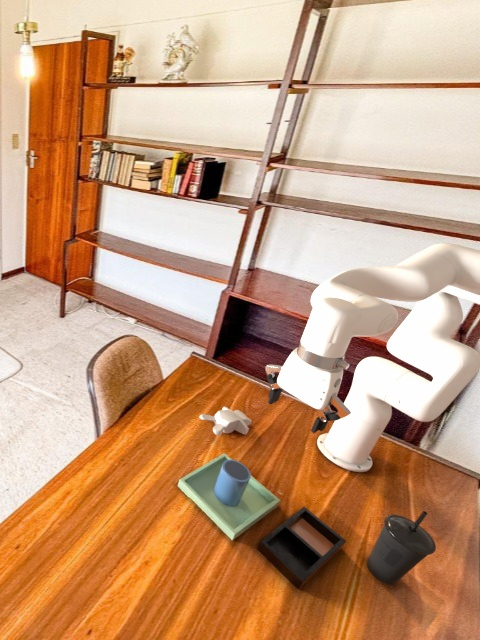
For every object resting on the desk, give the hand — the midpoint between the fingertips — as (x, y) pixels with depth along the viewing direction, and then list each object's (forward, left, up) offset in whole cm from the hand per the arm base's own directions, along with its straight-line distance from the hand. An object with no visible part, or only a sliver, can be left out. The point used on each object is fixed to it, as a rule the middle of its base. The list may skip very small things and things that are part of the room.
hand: (293, 415), depth 89 cm
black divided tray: (+6, +13, -26) cm, 29 cm away
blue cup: (+9, -3, -25) cm, 27 cm away
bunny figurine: (-11, -18, -26) cm, 33 cm away
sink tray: (+9, -3, -26) cm, 27 cm away
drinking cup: (-5, +24, -26) cm, 36 cm away
